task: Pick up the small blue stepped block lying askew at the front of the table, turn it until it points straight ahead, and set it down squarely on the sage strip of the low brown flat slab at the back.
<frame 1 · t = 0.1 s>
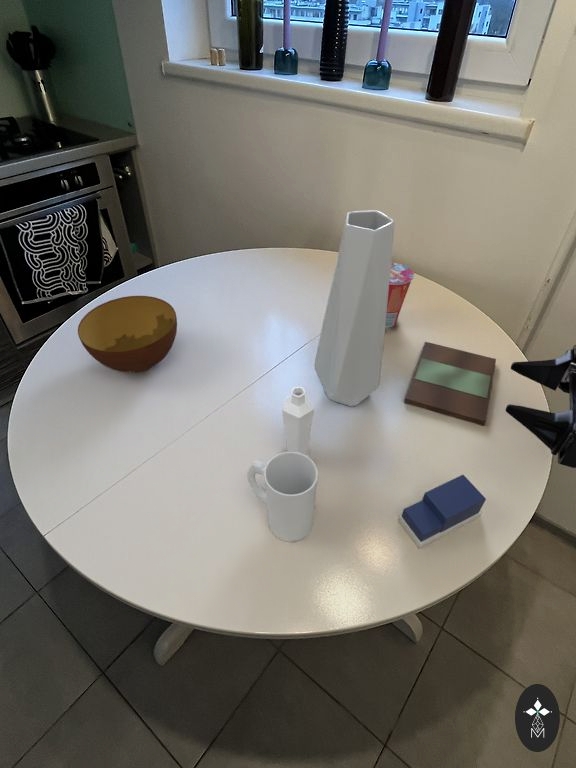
hand: (509, 385, 63), 16 cm above the table, tool horizontal, fingers open, 9 cm apart
blue stepped block: (438, 518, 65), on the table
mug: (280, 517, 66), on the table
cup: (383, 322, 101), on the table
bowl: (140, 363, 91), on the table
vase: (349, 391, 85), on the table
perfume bottle: (297, 457, 74), on the table
brown flat slab: (451, 382, 86), on the table
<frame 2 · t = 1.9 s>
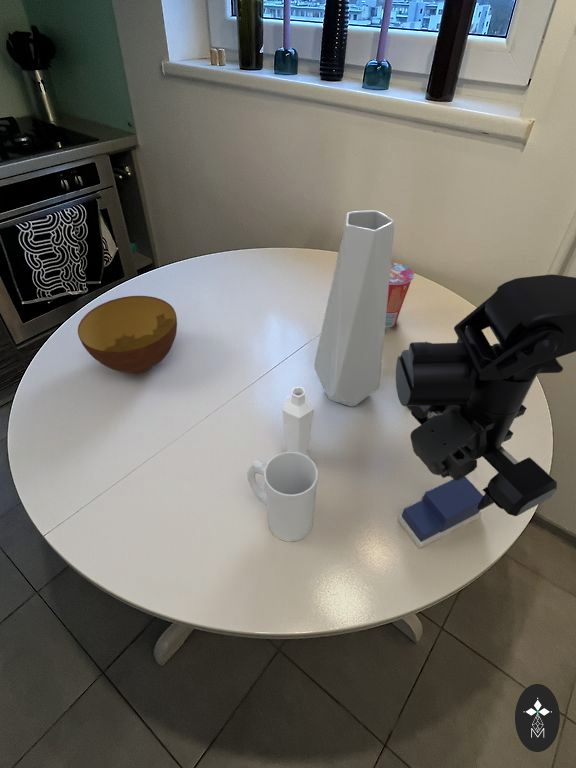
hand: (455, 480, 59), 9 cm above the table, tool pointing down, fingers open, 9 cm apart
nothing on the table moved.
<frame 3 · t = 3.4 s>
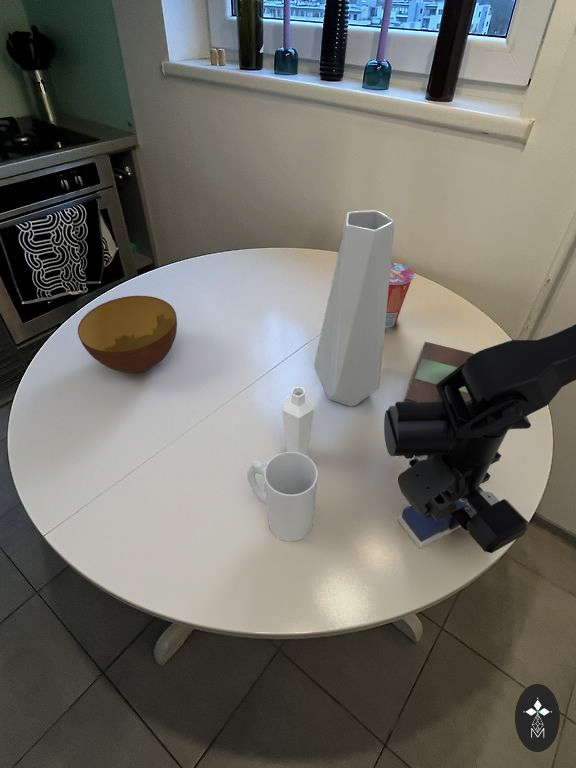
hand: (440, 513, 65), 1 cm above the table, tool pointing down, fingers closed on blue stepped block, 4 cm apart
blue stepped block: (438, 518, 65), on the table, touching gripper
everything else where it was.
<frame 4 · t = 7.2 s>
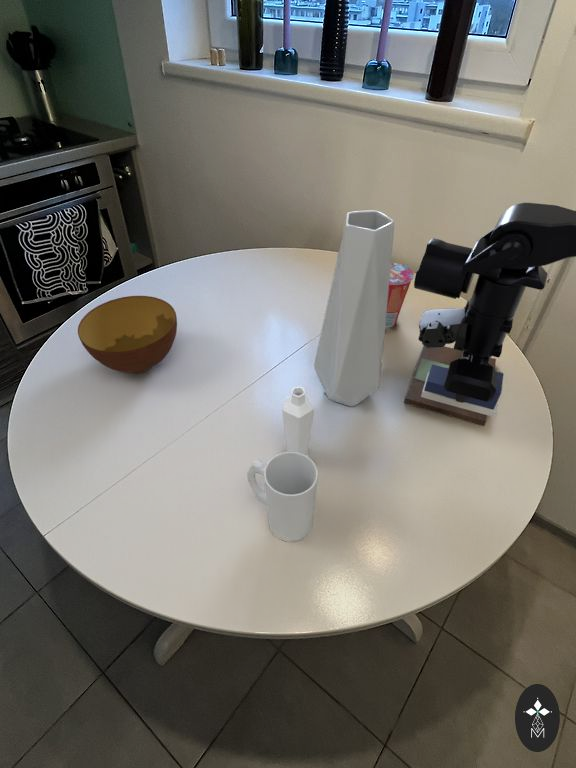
hand: (461, 390, 70), 10 cm above the table, tool pointing down, fingers closed on blue stepped block, 4 cm apart
blue stepped block: (458, 396, 71), point 9 cm above the table, touching gripper
everything else where it was.
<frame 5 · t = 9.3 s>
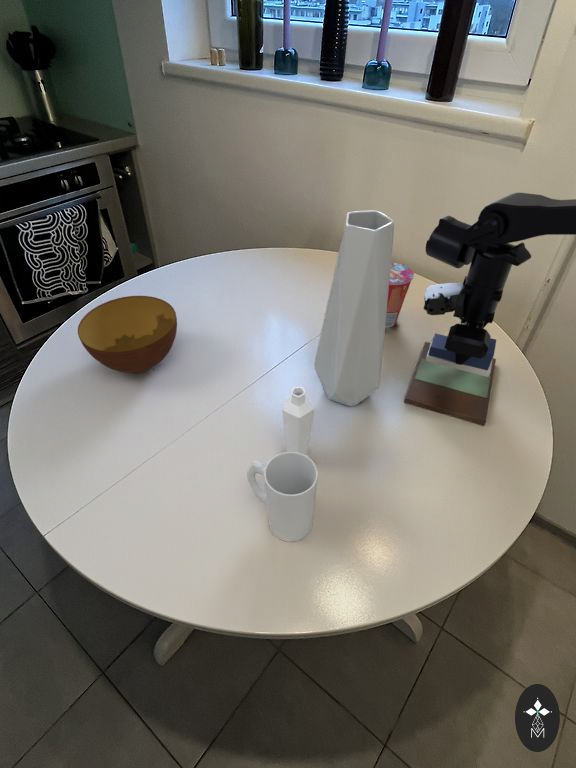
hand: (460, 355, 82), 7 cm above the table, tool pointing down, fingers closed on blue stepped block, 4 cm apart
blue stepped block: (458, 360, 82), point 5 cm above the table, touching gripper
everything else where it was.
when the fingers open (3 cm above the table, at t = 11.0 s): blue stepped block stays where it is, resting on brown flat slab.
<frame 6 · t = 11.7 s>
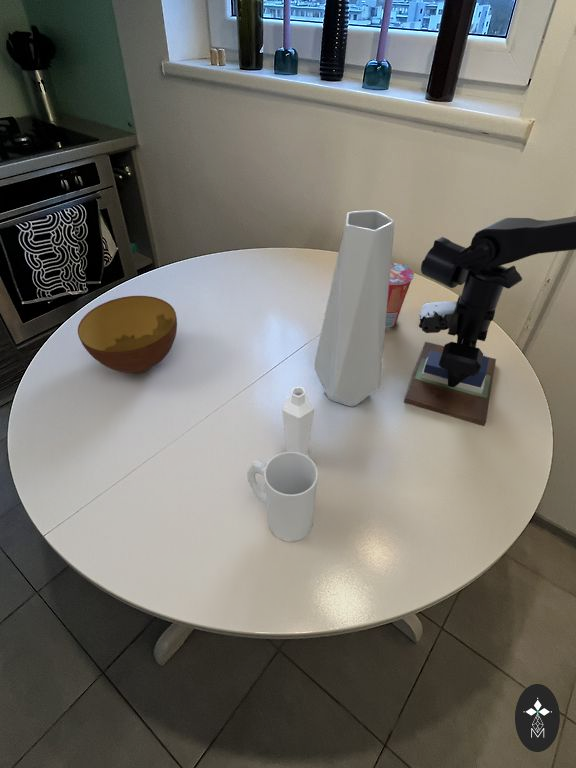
hand: (454, 370, 84), 3 cm above the table, tool pointing down, fingers open, 9 cm apart
blue stepped block: (452, 377, 85), point 1 cm above the table, touching brown flat slab
everything else where it was.
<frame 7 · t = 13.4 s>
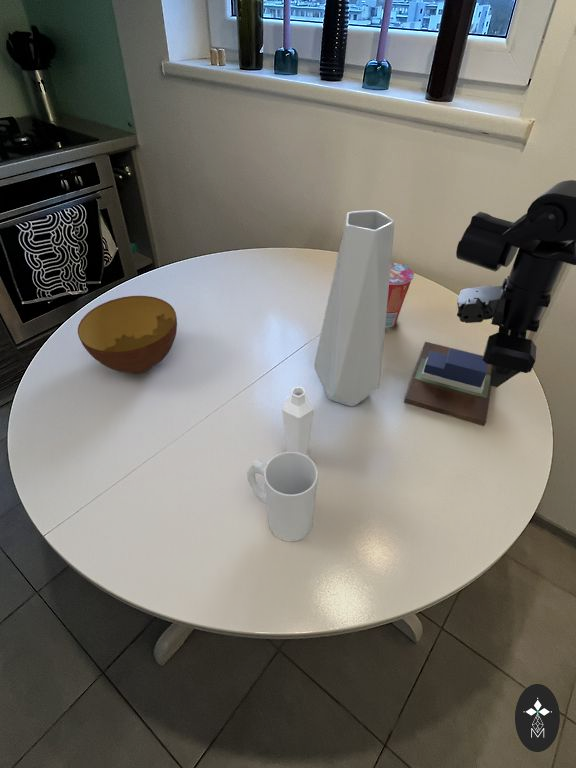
hand: (496, 368, 72), 11 cm above the table, tool pointing down, fingers open, 9 cm apart
nothing on the table moved.
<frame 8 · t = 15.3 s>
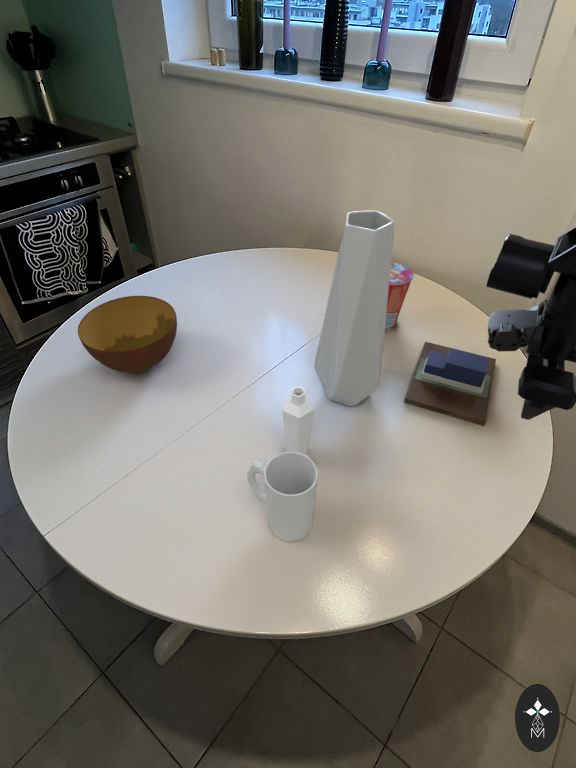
hand: (526, 396, 66), 12 cm above the table, tool pointing down, fingers open, 9 cm apart
nothing on the table moved.
at the end: blue stepped block 0.1 cm off-centre on the brown flat slab, point 1.3 cm above the brown flat slab's base; blue stepped block tilted 0°; the gripper is holding nothing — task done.
